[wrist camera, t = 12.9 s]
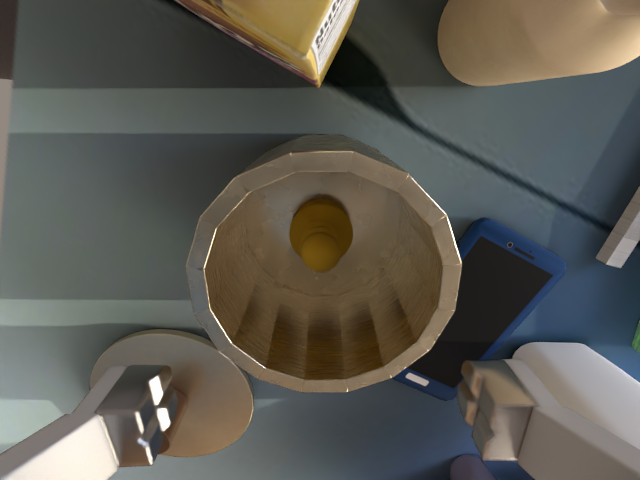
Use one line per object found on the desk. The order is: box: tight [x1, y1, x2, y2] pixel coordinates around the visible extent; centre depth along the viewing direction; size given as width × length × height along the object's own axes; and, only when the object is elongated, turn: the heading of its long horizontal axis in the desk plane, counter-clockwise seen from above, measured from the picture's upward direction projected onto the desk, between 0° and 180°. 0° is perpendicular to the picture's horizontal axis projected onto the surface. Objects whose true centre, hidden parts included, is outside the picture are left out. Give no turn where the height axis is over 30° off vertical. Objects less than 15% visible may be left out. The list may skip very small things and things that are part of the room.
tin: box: [186, 134, 462, 393], centre depth 19 cm, size 12×12×8 cm
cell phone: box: [392, 218, 566, 401], centre depth 24 cm, size 7×14×1 cm, turn 152°
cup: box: [512, 342, 640, 449], centre depth 20 cm, size 7×7×15 cm
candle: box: [437, 0, 640, 86], centre depth 14 cm, size 6×6×10 cm
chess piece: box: [289, 199, 353, 272], centre depth 20 cm, size 4×4×5 cm
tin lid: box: [90, 329, 254, 457], centre depth 26 cm, size 13×13×5 cm
